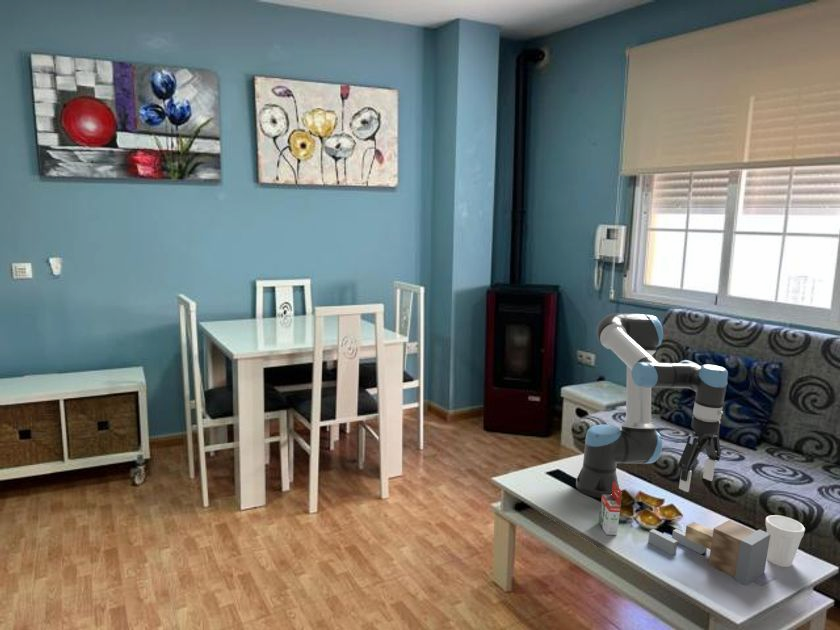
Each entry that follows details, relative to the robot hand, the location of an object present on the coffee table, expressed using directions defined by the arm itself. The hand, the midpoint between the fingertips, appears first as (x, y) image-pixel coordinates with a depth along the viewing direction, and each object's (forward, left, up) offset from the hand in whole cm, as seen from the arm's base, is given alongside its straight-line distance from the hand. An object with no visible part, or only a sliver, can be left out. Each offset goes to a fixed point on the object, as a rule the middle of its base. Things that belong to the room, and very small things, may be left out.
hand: (695, 484), depth 183 cm
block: (+14, -2, -19) cm, 23 cm away
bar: (+8, -2, -16) cm, 18 cm away
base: (+8, -2, -20) cm, 22 cm away
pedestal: (-3, -10, -20) cm, 22 cm away
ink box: (-20, -13, -20) cm, 31 cm away
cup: (+20, +14, -20) cm, 32 cm away
